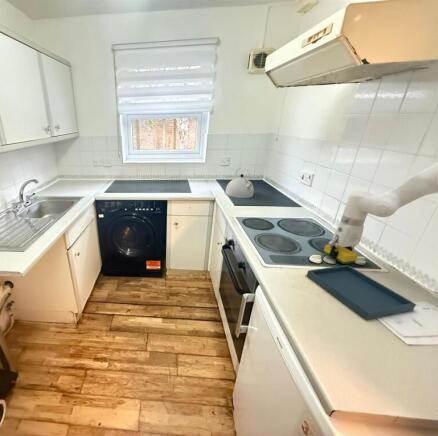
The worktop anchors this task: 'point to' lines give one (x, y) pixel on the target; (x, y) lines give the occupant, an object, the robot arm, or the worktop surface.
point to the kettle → (240, 187)
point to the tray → (360, 292)
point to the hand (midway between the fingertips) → (339, 256)
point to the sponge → (342, 254)
